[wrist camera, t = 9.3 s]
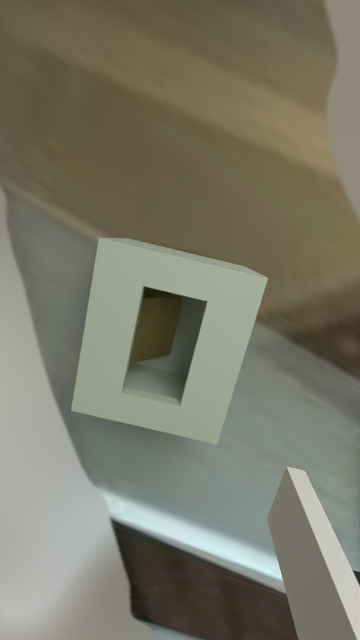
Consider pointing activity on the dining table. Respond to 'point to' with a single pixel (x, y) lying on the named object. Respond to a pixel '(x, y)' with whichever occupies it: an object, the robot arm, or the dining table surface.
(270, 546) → the dining table surface
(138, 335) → the tan wooden block
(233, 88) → the dining table surface
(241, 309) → the box
